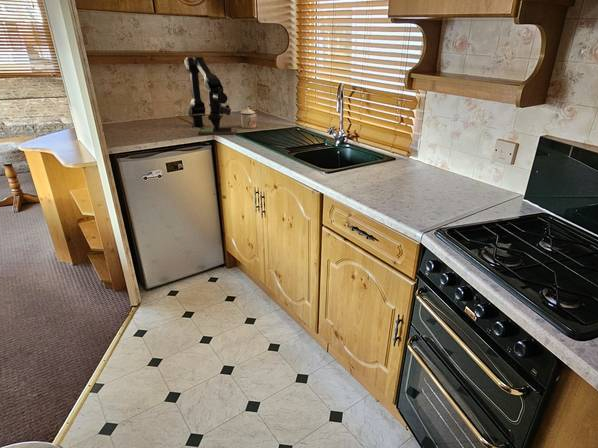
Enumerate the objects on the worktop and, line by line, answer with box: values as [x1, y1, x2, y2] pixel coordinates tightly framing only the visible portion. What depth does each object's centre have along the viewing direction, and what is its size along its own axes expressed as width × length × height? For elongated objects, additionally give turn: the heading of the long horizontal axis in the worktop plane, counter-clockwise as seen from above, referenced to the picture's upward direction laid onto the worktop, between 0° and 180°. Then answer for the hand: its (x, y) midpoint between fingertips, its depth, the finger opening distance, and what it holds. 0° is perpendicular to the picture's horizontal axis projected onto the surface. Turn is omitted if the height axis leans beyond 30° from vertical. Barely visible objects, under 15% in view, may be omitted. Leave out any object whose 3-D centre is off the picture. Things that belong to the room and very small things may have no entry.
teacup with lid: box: [240, 107, 258, 129], centre depth 248 cm, size 12×9×12 cm
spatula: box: [199, 126, 232, 132], centre depth 231 cm, size 17×6×2 cm, turn 98°
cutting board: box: [197, 128, 237, 136], centre depth 233 cm, size 9×20×2 cm, turn 98°
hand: (217, 129), depth 231 cm, fingers open, 4 cm apart
